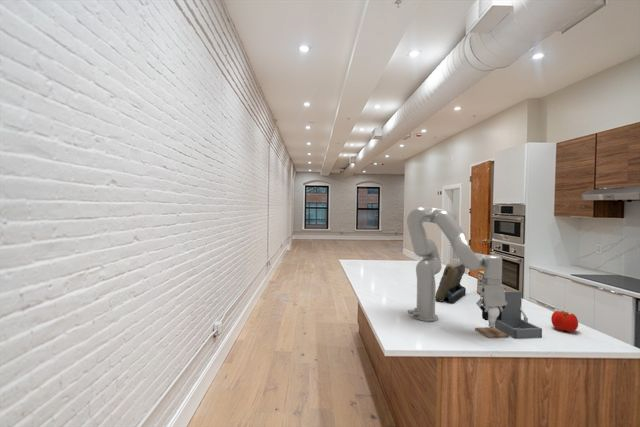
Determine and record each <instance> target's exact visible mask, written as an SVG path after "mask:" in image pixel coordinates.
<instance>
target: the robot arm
mask: <svg viewBox="0 0 640 427" xmlns="http://www.w3.org/2000/svg"><path fill="white" fill-rule="evenodd" d="M457 220H458V218H457V215H456V214H455V213H454V211H452V210H448V209H441V208H436V207H431V206H417V207H415V208H413V209H412V210H411V211H410V212H409V213H408V215H407V219H406V226H407V230H408V232H409V236H410V240H411V241H410V242H411V246H412V248H413V252H414V254H415V255H416V256H417V257H420V258H422V259H421V260H420V261H418V263H417V264H416V266H415V272H416V273H415V274H416V307H414V309H408V310H407V314H408V315H412V316H413V318H415V319H417V320H419V321H423V322H435V321H436V322H437V321H438V320H439V316H438V315H437V314H436V299H435V296H436V290H437V289H436V286H437V285H436V279H435V276H436V275H437V274H438V273H440V272H441V270H442V261H441V258H440V254H439V250H438V246H437V245H436V243H435V241H434V240H433V239H431V238H428V236H427V231H426V228H425V227H424V225H423V224H424V223H432V224H436V225H437V226H438V227H439V229H440V230H441V232H442V233H443V234H444V235H445V237H446V238H447V240H448V241H449V243H450V246H451V247H452V250H453V252H454V254H455V256H456V257H457V258H458V260H460V261H461V262H462V264H463V265H464V266H465V267H466V268H465V269H468V270H469V271H476V270H479V269H483V271H484V279H482V282H484V284H482V288H481V295H479V296H480V297H479V299H478V300H477V302H476V304H475V305H477V306H478V307H479V309H480V310H481V319H483V320H484V321H488V312H487V310H488V307H498V308H499V311H500V314H499V316H498V317H497V319H499V320H501V317H502V311H503V309H504V308H505V306H506V305H507V304H508V302H507V301H506V300H505V288H504V284H502V282H503V258H502V256H500V255H496V254H495V255H494V254H483V253H479V252H474V251H473V250H472V248H471V247H470V246H469V243H468V242H467V235H466V231H464V229H463V228H462V227H461V226H460V224H459V223H458V222H457Z"/></svg>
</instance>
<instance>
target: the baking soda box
mask: <svg viewBox="0 0 640 427" xmlns="http://www.w3.org/2000/svg"><path fill="white" fill-rule="evenodd" d="M482 279H484V270H482V271H481V270H478V271H477V280H476V282H477V283H476V284H477V285H476V286H477V287H476V288H477V289H476V293H477V295H479V296H481V288H482V284H484V282H482Z"/></svg>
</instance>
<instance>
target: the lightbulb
mask: <svg viewBox="0 0 640 427" xmlns="http://www.w3.org/2000/svg"><path fill="white" fill-rule="evenodd" d="M487 312H488V320H487V321H488V327H491V328H495V321H496V318H497V317H498V316H499V314H500V311H499V308H498V307H488V310H487Z"/></svg>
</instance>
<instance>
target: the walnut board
mask: <svg viewBox="0 0 640 427" xmlns="http://www.w3.org/2000/svg"><path fill="white" fill-rule="evenodd" d="M474 330H475V331H476V332H478V333H479V334H481V335H483V336H484V337H486V338H488V339H500V338H501V339H503V338H509V335H507V334H506V333H504V332H502V331H500V330H498V329H496V328H495V327H494V328H491V327H489V326H488V327H486V326H485V327H475V328H474Z"/></svg>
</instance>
